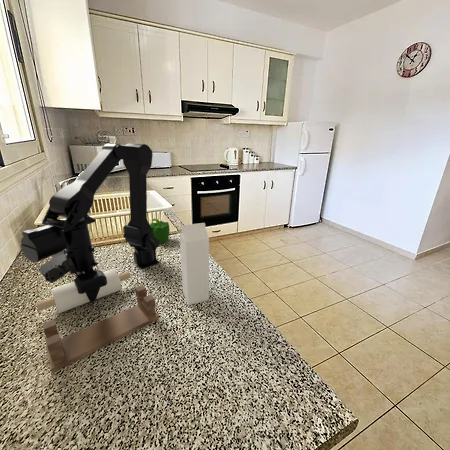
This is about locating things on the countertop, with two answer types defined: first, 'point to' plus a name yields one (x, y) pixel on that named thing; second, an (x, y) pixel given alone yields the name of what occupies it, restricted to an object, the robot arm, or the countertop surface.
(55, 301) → the kitchen roll
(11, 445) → the countertop surface
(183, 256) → the milk
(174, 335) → the countertop surface
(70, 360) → the bracket
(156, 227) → the bell pepper
